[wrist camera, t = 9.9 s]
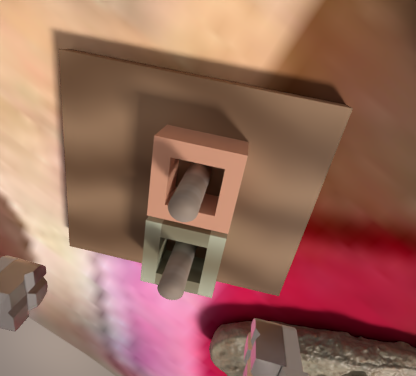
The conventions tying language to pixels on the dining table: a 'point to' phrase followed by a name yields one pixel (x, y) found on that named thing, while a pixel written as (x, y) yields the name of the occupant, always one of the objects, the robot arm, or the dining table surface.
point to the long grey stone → (320, 352)
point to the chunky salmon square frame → (203, 154)
